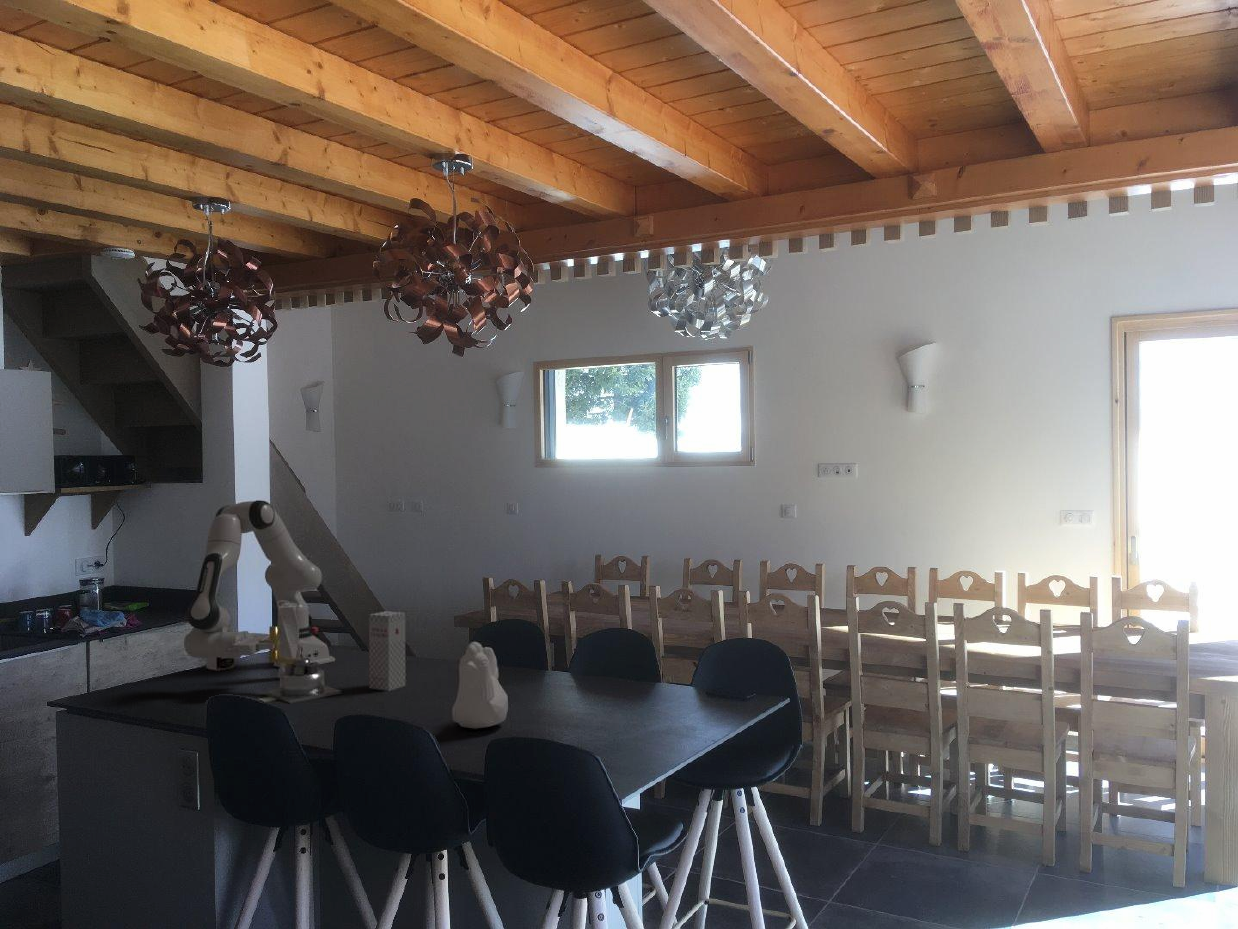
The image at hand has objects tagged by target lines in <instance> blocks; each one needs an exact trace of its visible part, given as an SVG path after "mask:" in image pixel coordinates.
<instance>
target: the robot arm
mask: <svg viewBox="0 0 1238 929" xmlns="http://www.w3.org/2000/svg"><path fill="white" fill-rule="evenodd" d="M210 526H211V527H210V528H209V532H208V537H207V541H206V542H207V543H206V548H205V549H206V550H205V554H204V555H205V556H204V559H203V563H202V566H201V569H200V574H199V578H198V582H197V587H196V590H195V591H196V592H195V595H194V597H193V599H192V601H191V603H190V605H189V606H188V608H187V611H186V618H187V619H186V620H187V622H188V623H189V624H190V626H191V627H192V629H191V630H190V631H189V632H188V633H187V634H186V635H185V636H184V639H183V640H184V641H183V645H184V650H185V652H186V653H187V655H188V656H190V657H191V658H195V659H207V658H216V657H221V658H234V659H240V658H241V657H242V656H254V655H255V654H257V653H259V652H261V651H265V650H269V649H273V648H274V647H275V644H274V643H269V633H263V632H262V633H261V632H260V633H258V632H257V633H256V632H249V630H246V631H245V630H244V631H229V630H230V626H231V623H232V622H231V621H232V616H231V614H230V612H229V611H228V610H227V608H225V607H223V606H222V605H220V604H219V603H218V601H217V594H218V588H219V585H220V579H221V576H222V574H223V573H224V572H225V571H228V570H230V569H233V567H235V566H236V565H237V564H238V561H239V558H240V554H241V548H242V538H243V537H242V536H243V534H247V533H248V534H249V533H250V532H253V534H254V536H255V538H256V541H257V543H258V545H259V546H260V548H261V551H262V553H263V554H264V556H265V558H266V559H267V560H268V561H270V562H271V564H269V565H268V566H267V568H266V570H265V572H264V580H265V582H266V584H267V585H268V586H269V588H270V589H271V590H272V593H273V595H274V599H275V603H276V607H277V608H276V609H277V620H278V619H279V614H280V611H279V607H278V605H277V601H280V600H284V601H288V602H290V603H295V604H297V607H296V610H295V612H296V616H297V620H298V626H299V643H298V650H297V655H296V658H298V659H300V654H301V647H302V642H303V654H304V658H308V659H310V665H311V662H317V663H319V665H324V664H328V663H332V662H335V661H336V658H335V657H334V656H333V655H330V651H329V648H328V645H327V643H325V642H324V641H322V640H321V639H319V638H318V637H316V636H315V635H314V633H315V634H316V633H318V632H319V628H318V627H316V626H310V624H309V623H310V622H309V620H310V619H309V616H310V615H309V614H310V613H309V611H310V610H309V609H310V608H309V604H308V603H307V602H306V601H305V599H304V598H303V596H302V593H304V592H305V593H306V592H310V591H314V590H316V589H317V588H318V587H319V586H320V584H321V583H322V578H323V575H322V571H321V569H320V567H318V566H317V565H315V564H314V563H312V562H311V560H309V559H308V558H307V557H306V556H305V555H304V553H303V552H302V551H301V550H300V549H299V548H298V546H297V544H295V543H294V540H293V538H292V537H291V535H290V533H289V531H288V529H287V527H286V525H285V523H284V521H283V519H282V518H281V516H280V515H279V514H278V513H277V511H276V510H275V509H274V508H273V506H272V505H271V504H270V503H269V502H268V501H266V500H263V499H262V500H261V499H260V500H259V499H258V500H253V501H252V500H249V501H242V502H238V503H234V504H231V505H229V504H228V505H225V506H223V507H221V508H219V509H218V510H217V512H216V513H215V517H214V519H213V520H212V522H211V525H210ZM278 603H279V606H280V607H281V606H282V604H283V603H287V602H278ZM292 605H294V604H292ZM279 644H280V641H279V640H278V645H279ZM278 657H279V653H278ZM280 664H281V663H274V662H273V666H274V667H277V668H280Z"/></svg>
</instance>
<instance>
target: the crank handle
mask: <svg viewBox="0 0 1238 929" xmlns="http://www.w3.org/2000/svg"><path fill="white" fill-rule="evenodd" d="M268 628H269V629H268V630H269V633H268V634H269V643H274V644H275V647H274V648H273V649H268V650H269V657H268V662H269V663H273V664H274V663H284V664H287V665H286V666H285V673H286V674H288V675H289V674H293V671H294V675H304V673H307V674H313V673H317V671H319V669H320V668H319V667H320V664H319V663H317V662H311V665H310V659H308V658H300V659H298V658H287V657H278V626H277V625H271V626H269V627H268Z"/></svg>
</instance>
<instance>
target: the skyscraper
mask: <svg viewBox="0 0 1238 929" xmlns="http://www.w3.org/2000/svg"><path fill="white" fill-rule="evenodd" d="M278 602H287V603H283V604H282V606H281V607H280V606H279V603H278ZM292 604H294V605H292ZM277 605H278V607H279V611H280V614H279V619H278V618H277V625H276V626H278V640H279V641H280V644H279V645H278V653H279V657H287V658H296V655H297V650H298V643H299V626H298V620H297V616H296V612H295V610H296V607H297V604H295V603H290V602H288V601H284V600H280V601H277V603H276V606H277ZM300 658H304V654H303V642H302V647H301V654H300ZM286 665H287V664H284V663H281V664H280V667H278V672H277V676H276V679H278V680H280V673H282V672H284V671H285V666H286Z"/></svg>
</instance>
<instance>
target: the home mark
mask: <svg viewBox="0 0 1238 929" xmlns="http://www.w3.org/2000/svg"><path fill="white" fill-rule="evenodd" d="M258 699H259V700H262V701H264V703H268V702H273V701H277V699H276V698H273V697H270V696H266V697H262V698H260V697H259V698H258Z"/></svg>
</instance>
